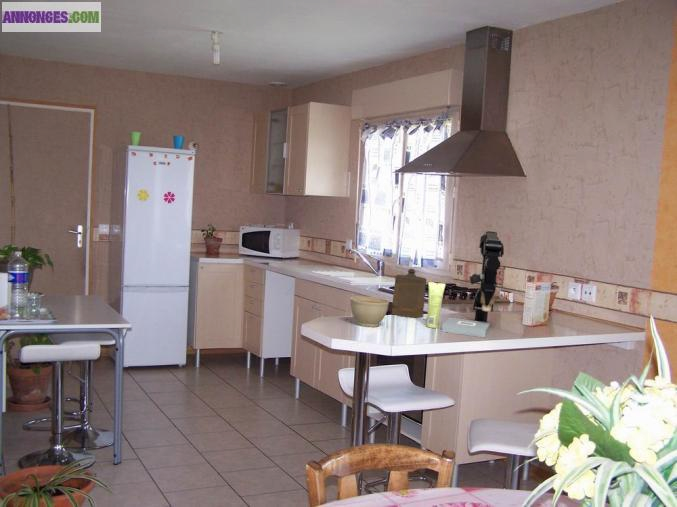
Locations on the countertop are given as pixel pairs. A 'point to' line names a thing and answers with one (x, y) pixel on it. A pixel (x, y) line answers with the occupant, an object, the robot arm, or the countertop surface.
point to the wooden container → (409, 295)
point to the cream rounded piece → (488, 308)
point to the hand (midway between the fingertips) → (486, 304)
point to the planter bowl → (368, 310)
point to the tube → (434, 303)
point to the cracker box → (536, 303)
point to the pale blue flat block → (465, 327)
